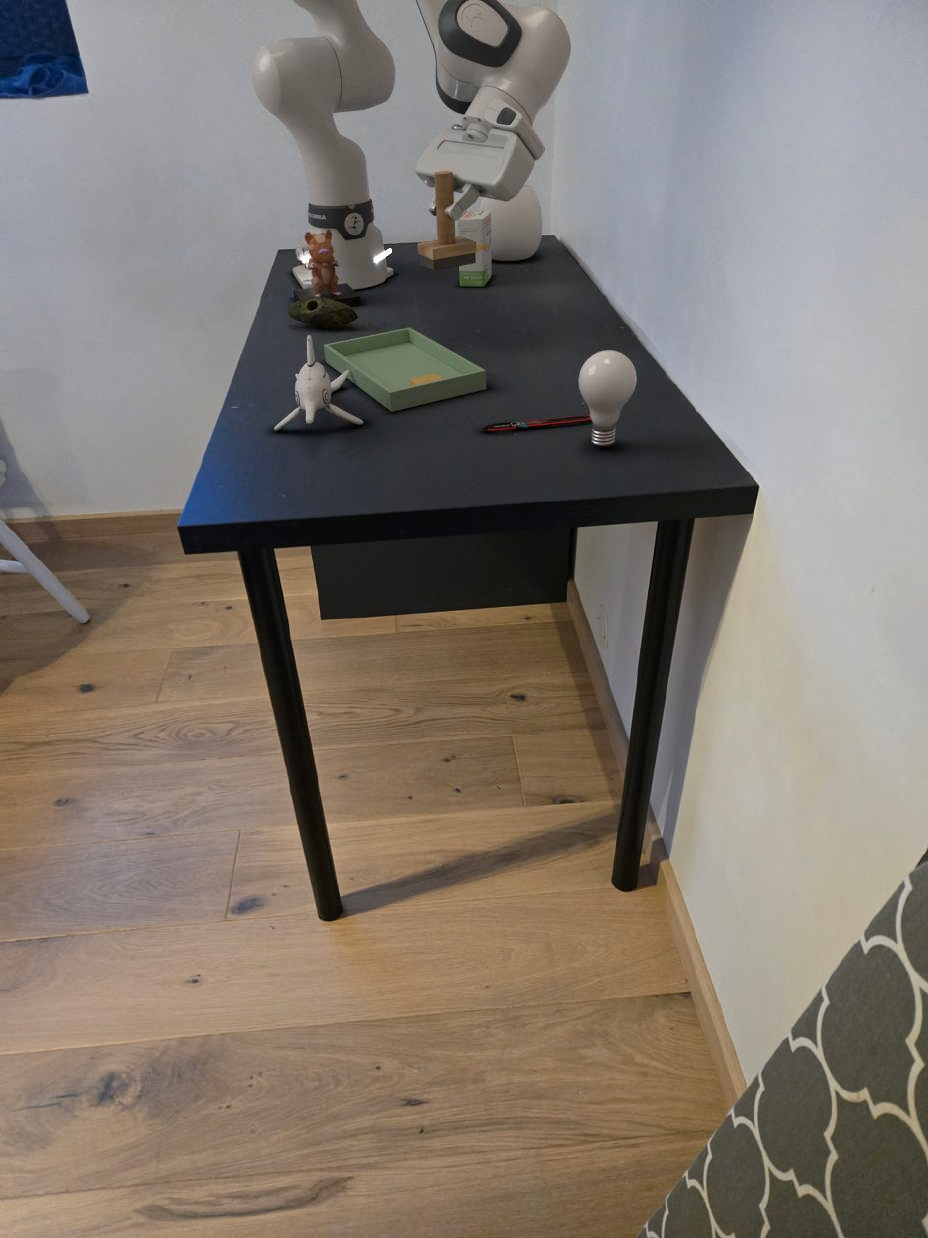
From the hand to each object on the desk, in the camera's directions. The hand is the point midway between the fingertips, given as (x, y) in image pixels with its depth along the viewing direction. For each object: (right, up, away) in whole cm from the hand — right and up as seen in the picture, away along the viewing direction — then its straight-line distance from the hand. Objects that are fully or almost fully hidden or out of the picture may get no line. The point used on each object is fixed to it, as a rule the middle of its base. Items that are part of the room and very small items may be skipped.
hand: (441, 215), depth 116 cm
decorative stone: (-20, -9, +20) cm, 30 cm away
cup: (+13, +18, +54) cm, 58 cm away
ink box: (+6, +7, +40) cm, 41 cm away
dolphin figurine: (-15, -32, -11) cm, 37 cm away
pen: (+12, -34, -16) cm, 40 cm away
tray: (-6, -23, 0) cm, 23 cm away
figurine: (-22, 0, +32) cm, 39 cm away
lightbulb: (+19, -38, -21) cm, 47 cm away
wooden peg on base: (+1, -5, +4) cm, 7 cm away
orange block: (-1, -27, -6) cm, 27 cm away
